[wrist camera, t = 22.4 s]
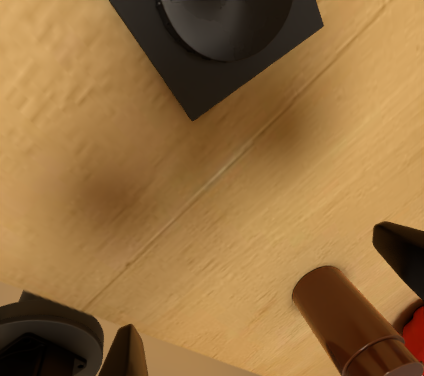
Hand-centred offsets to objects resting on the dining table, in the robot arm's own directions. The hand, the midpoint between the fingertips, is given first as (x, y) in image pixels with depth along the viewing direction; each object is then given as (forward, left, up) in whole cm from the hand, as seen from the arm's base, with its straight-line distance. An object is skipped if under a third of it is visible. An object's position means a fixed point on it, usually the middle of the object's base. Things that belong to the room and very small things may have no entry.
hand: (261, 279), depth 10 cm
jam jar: (+2, -21, -12) cm, 24 cm away
